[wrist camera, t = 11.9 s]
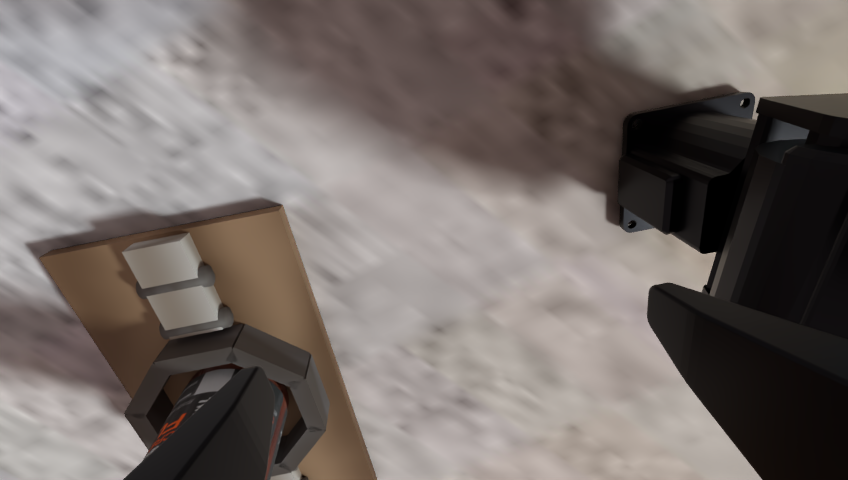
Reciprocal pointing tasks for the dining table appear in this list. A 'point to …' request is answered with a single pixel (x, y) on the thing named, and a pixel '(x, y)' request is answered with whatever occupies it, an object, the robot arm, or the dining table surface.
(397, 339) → the dining table surface
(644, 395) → the dining table surface
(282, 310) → the octagonal bottle holder
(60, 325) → the dining table surface
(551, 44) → the dining table surface
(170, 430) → the supplement bottle
